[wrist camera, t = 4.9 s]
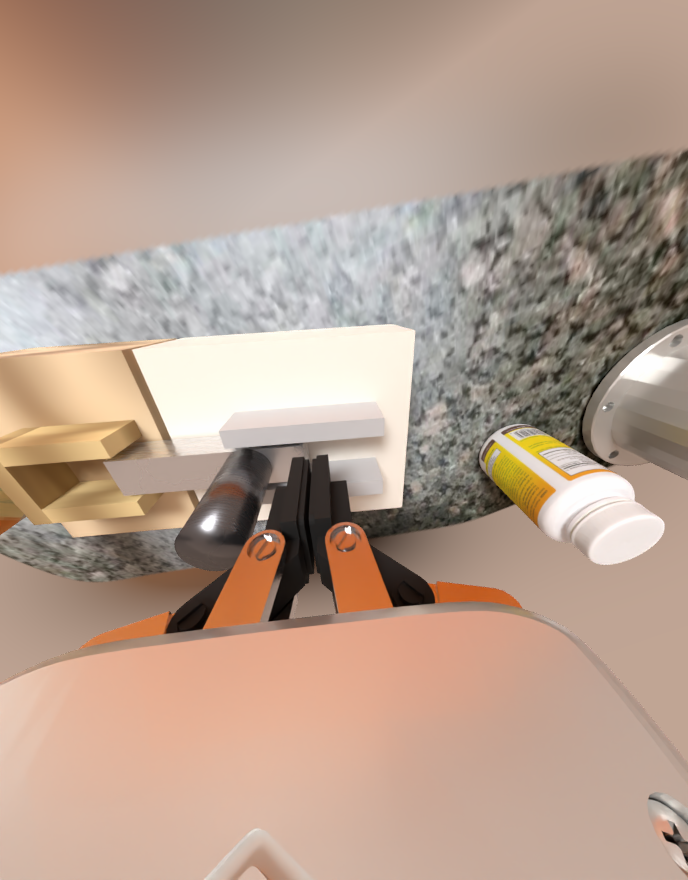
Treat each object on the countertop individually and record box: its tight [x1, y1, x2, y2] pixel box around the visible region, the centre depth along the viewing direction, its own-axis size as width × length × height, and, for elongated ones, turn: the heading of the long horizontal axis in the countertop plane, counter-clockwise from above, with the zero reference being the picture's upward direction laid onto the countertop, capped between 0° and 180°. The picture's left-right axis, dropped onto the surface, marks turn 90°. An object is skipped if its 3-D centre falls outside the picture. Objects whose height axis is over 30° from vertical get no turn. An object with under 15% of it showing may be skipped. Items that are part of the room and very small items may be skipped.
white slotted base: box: [132, 324, 415, 521], centre depth 16 cm, size 14×12×7 cm
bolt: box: [103, 436, 310, 571], centre depth 12 cm, size 10×2×7 cm, turn 93°
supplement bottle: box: [479, 424, 664, 565], centre depth 18 cm, size 6×6×10 cm
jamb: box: [0, 338, 199, 537], centre depth 16 cm, size 9×12×7 cm
